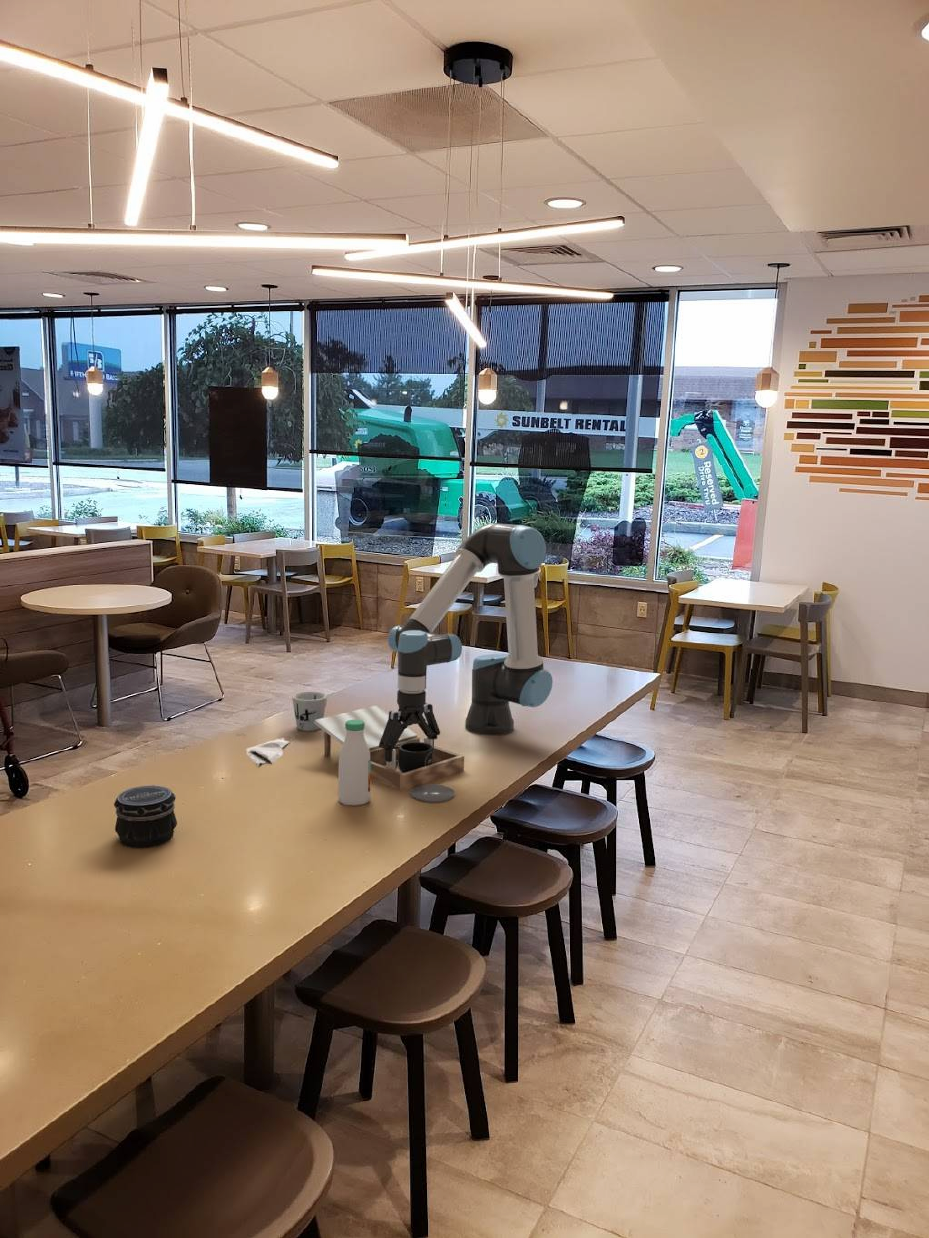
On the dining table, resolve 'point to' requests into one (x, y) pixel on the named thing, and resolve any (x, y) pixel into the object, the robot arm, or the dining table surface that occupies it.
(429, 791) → the coaster
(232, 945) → the dining table surface
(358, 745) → the milk bottle
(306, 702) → the mug
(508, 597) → the robot arm
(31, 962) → the dining table surface
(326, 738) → the box
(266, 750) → the cloth
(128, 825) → the container
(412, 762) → the mug
